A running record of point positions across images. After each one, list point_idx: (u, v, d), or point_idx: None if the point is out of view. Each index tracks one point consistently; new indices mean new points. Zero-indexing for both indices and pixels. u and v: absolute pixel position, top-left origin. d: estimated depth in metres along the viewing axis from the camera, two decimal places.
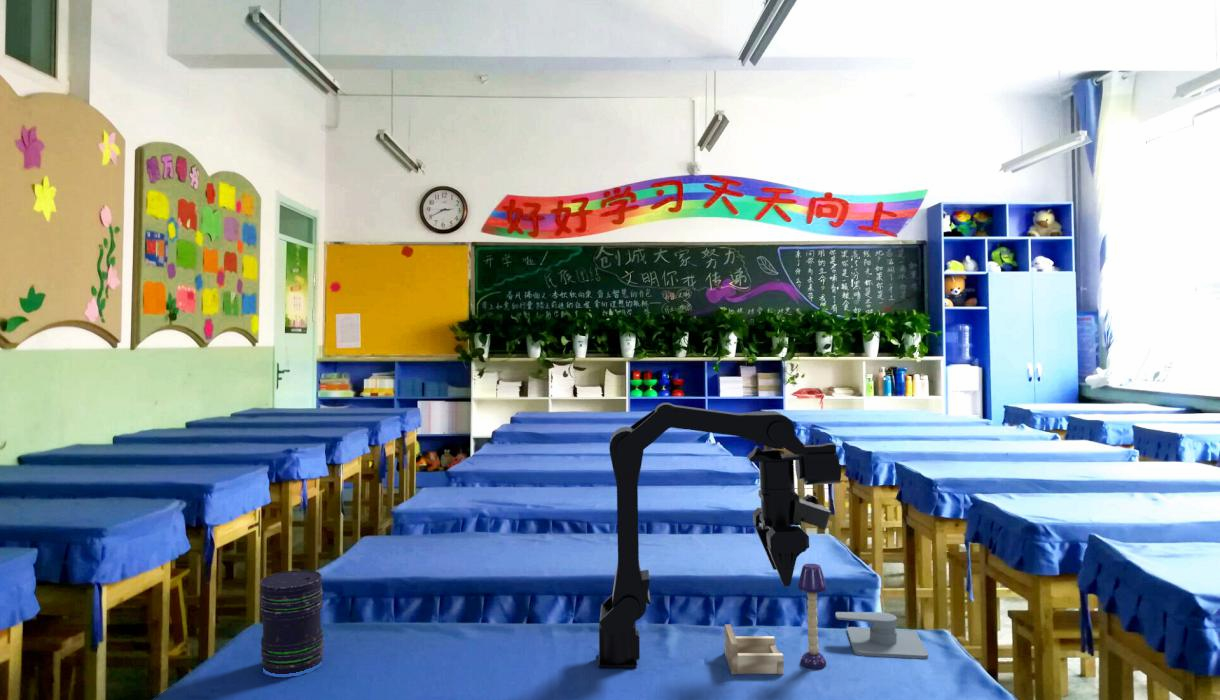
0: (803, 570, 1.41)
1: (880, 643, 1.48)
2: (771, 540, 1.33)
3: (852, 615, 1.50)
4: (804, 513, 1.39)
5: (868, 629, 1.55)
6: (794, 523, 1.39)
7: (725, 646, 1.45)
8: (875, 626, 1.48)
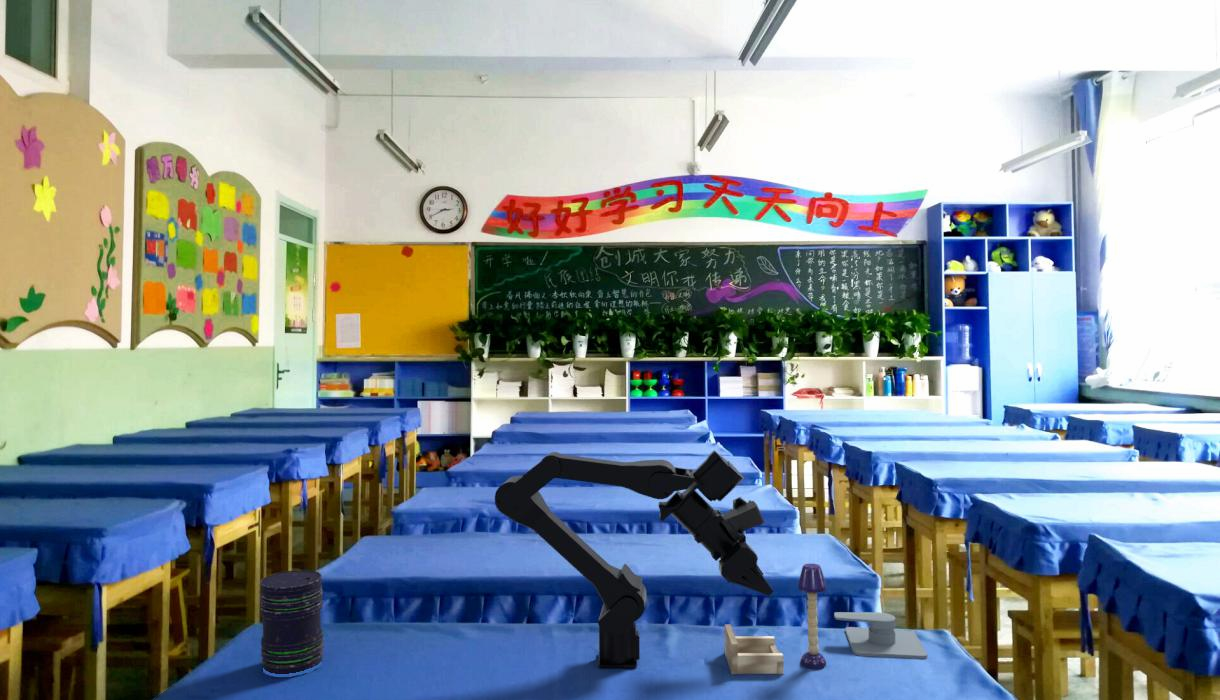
0: (803, 570, 1.41)
1: (879, 643, 1.48)
2: (723, 576, 1.32)
3: (851, 615, 1.50)
4: (736, 525, 1.38)
5: (866, 629, 1.55)
6: (736, 539, 1.38)
7: (725, 646, 1.45)
8: (874, 627, 1.48)
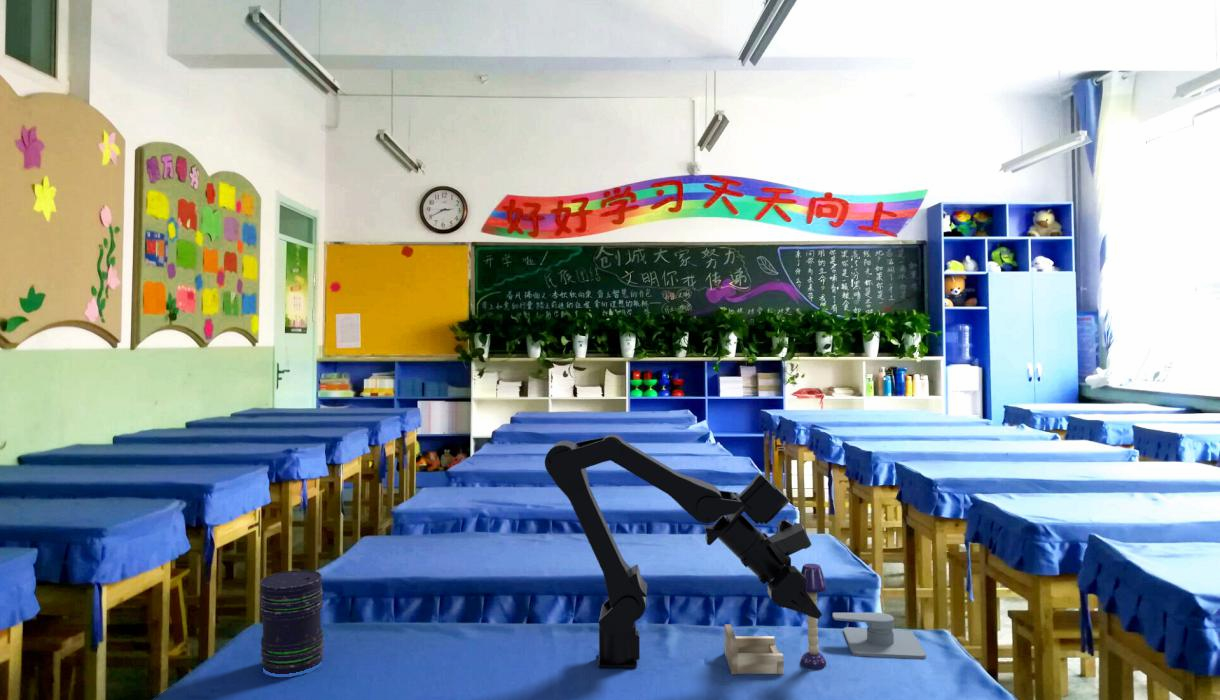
0: (803, 570, 1.41)
1: (877, 643, 1.48)
2: (773, 600, 1.32)
3: (849, 616, 1.50)
4: (784, 548, 1.38)
5: (864, 629, 1.55)
6: (783, 562, 1.38)
7: (725, 646, 1.45)
8: (872, 627, 1.48)
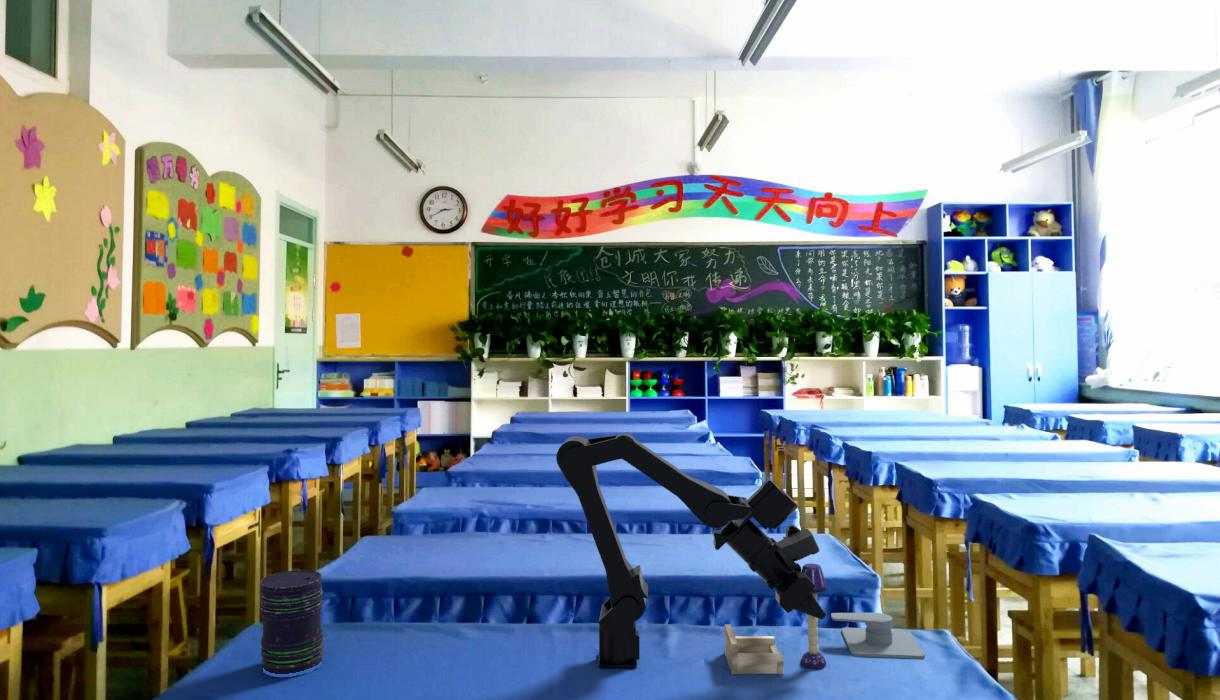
0: (803, 570, 1.40)
1: (876, 644, 1.48)
2: (782, 606, 1.32)
3: (848, 616, 1.50)
4: (792, 554, 1.38)
5: (863, 629, 1.55)
6: (791, 568, 1.38)
7: (725, 646, 1.45)
8: (871, 627, 1.48)
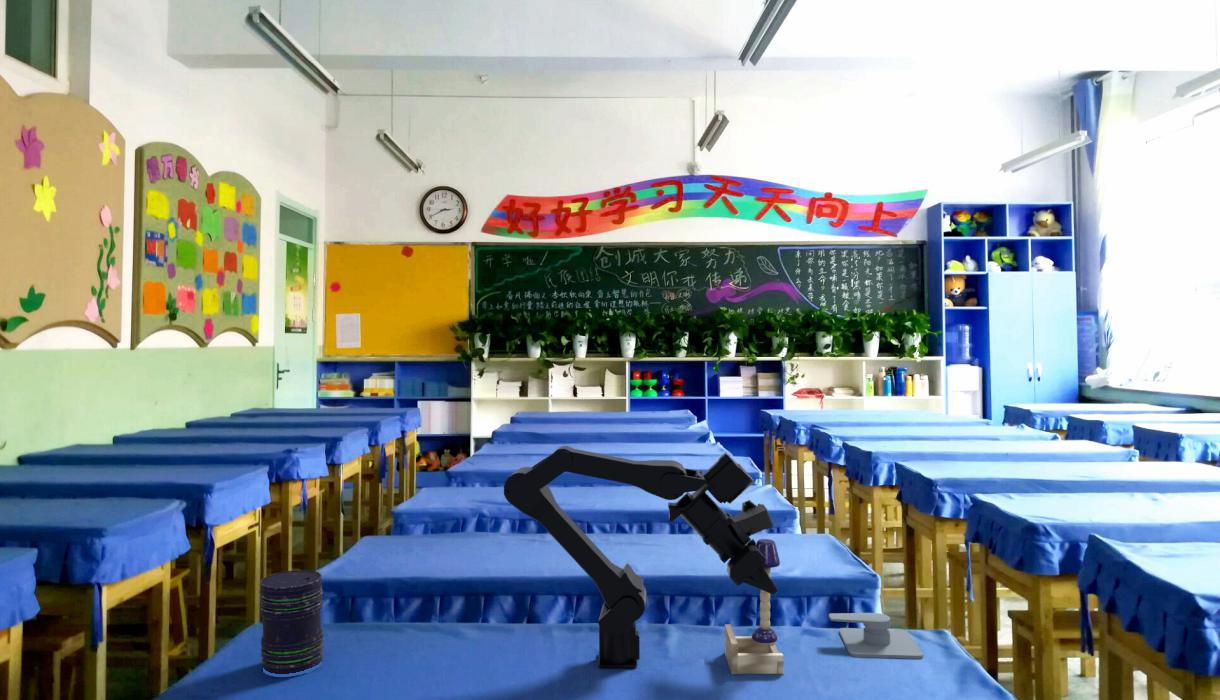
0: (757, 545, 1.40)
1: (874, 644, 1.48)
2: (732, 578, 1.32)
3: (846, 616, 1.50)
4: (746, 528, 1.38)
5: (860, 630, 1.55)
6: (744, 542, 1.38)
7: (725, 646, 1.45)
8: (869, 627, 1.48)
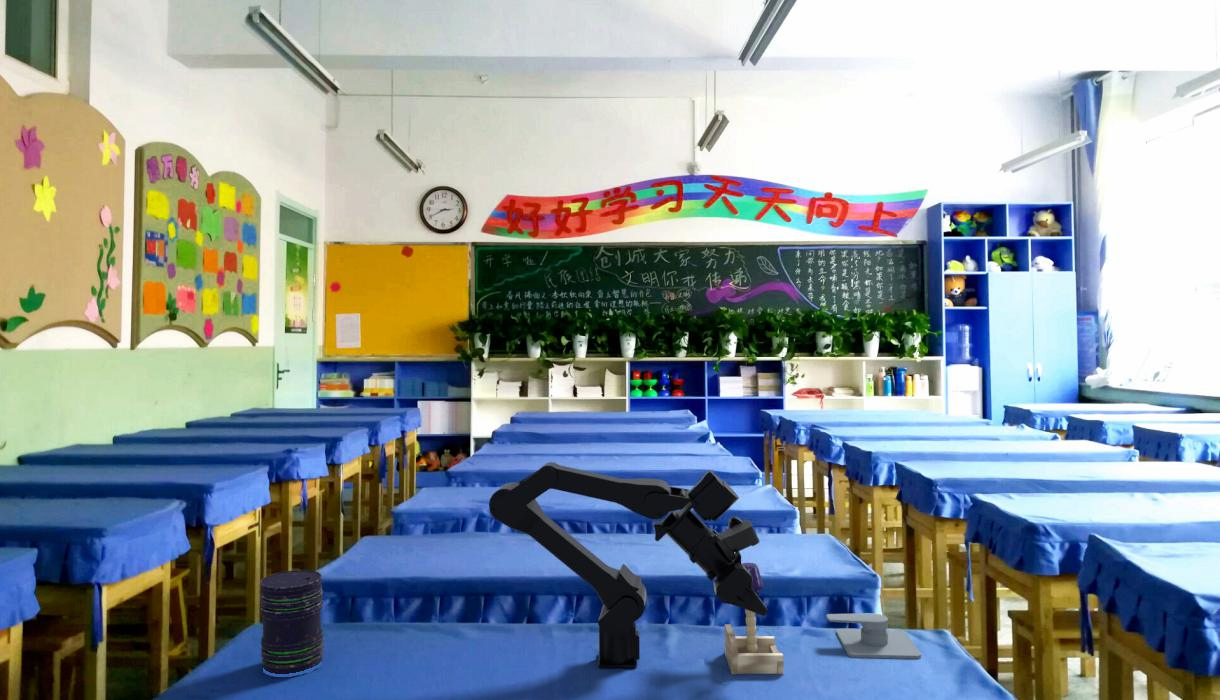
0: None
1: (872, 644, 1.48)
2: (718, 596, 1.32)
3: (844, 617, 1.50)
4: (731, 545, 1.38)
5: (857, 630, 1.55)
6: (731, 559, 1.38)
7: (725, 646, 1.45)
8: (867, 628, 1.47)
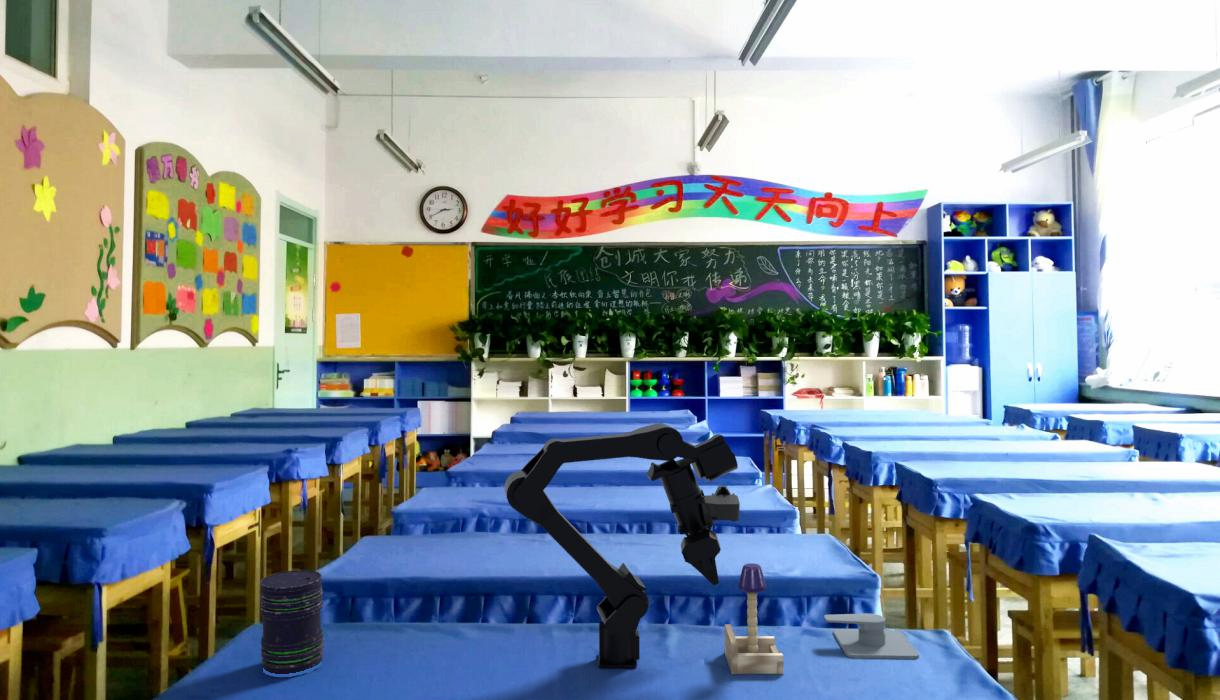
0: (743, 570, 1.41)
1: (870, 645, 1.47)
2: (683, 554, 1.37)
3: (841, 617, 1.49)
4: (713, 512, 1.42)
5: (854, 631, 1.55)
6: (707, 524, 1.42)
7: (725, 646, 1.45)
8: (865, 628, 1.47)
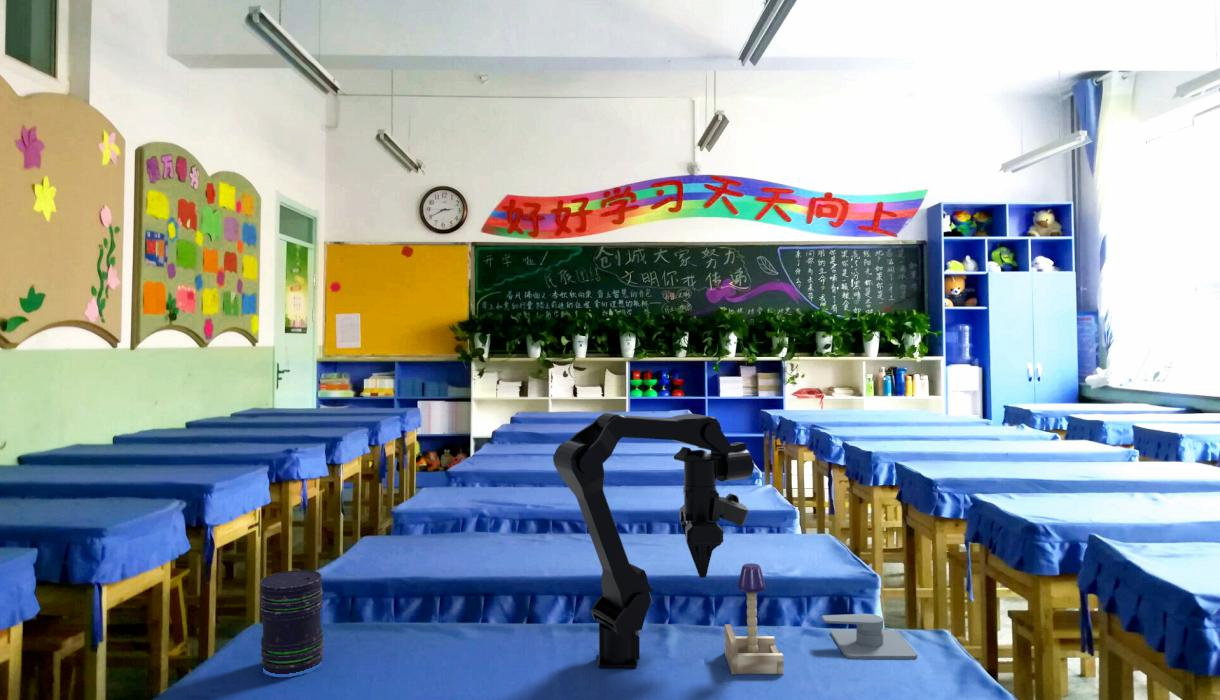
0: (742, 570, 1.41)
1: (868, 645, 1.47)
2: (688, 533, 1.42)
3: (839, 618, 1.49)
4: (723, 510, 1.48)
5: (851, 631, 1.55)
6: (713, 519, 1.48)
7: (725, 646, 1.45)
8: (863, 628, 1.47)
